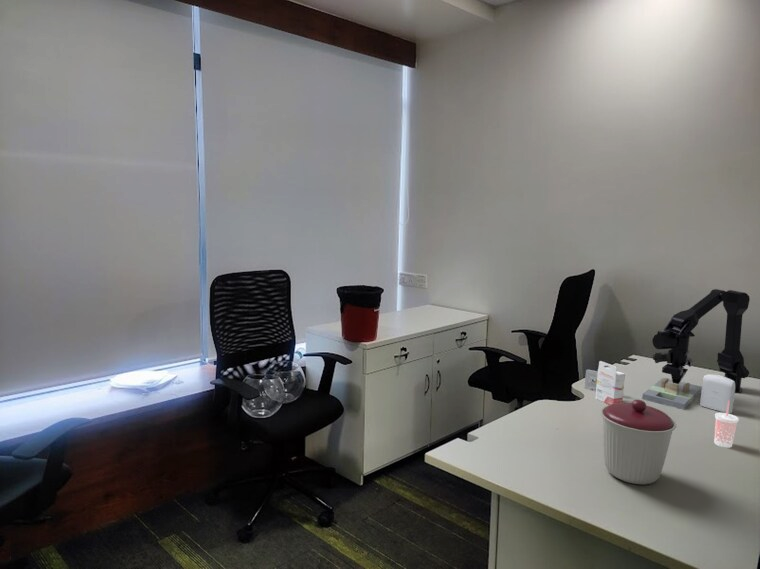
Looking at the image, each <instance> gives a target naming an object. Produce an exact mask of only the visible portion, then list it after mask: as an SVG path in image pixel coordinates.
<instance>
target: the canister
mask: <svg viewBox="0 0 760 569" xmlns="http://www.w3.org/2000/svg"><path fill="white" fill-rule="evenodd" d="M600 415H601V416H602V428H603V429H602V432H603V433H602V438H603V457H604V458H603V460H604V465H605V467H606V469H607V471H608V472H609V473H610V474H611V475H612V476H614V477H615V478H617V479H619V480H621V481H623V482H626V483H629V484H633V485H634V484H635V485H648V484H649V485H651V484H653V483H654V482H656V481H657V480H658V479H659V478H660V477H661V474H662V472H663V468H664V465H665V462H666V459H667V458H666V457H667V453H668V450H669V446H670V443H671V439H672V434H673V431H675V429H676V428H677V423H676V420H674V419H673V417H671V416H669V415H668V414H667V413H666V412H664V411H662V410H660V409H658V408H655V407H652V406H650V405H647V404H646V402H645V401H644V400H643V399H634V400H632V402H622V403H614V404H611V405H609V404H607V405H606V406H603V407H602V408H601V409H600Z"/></svg>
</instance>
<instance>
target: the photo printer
mask: <svg viewBox="0 0 760 569" xmlns="http://www.w3.org/2000/svg"><path fill="white" fill-rule="evenodd" d="M701 387H702V390H701V392H700V402H699V406H700V407H703V408H704V407H705V408H707V409H709V410H710V409H711V410H715V411H718V412H720V413H726V412H727V405H728V400H729V401H730V404H729V411H728V414H732V413H733V409H734V402H735V400H734V399H735V393H736V392H735V382H734V381H733V380H731V379H729V378H726V377H724V376H723V375H719V374H704V376H703V379H702V384H701Z"/></svg>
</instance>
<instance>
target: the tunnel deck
mask: <svg viewBox="0 0 760 569" xmlns="http://www.w3.org/2000/svg"><path fill="white" fill-rule="evenodd" d="M667 382H672V378H671V379H669V377H662V378H661V379H660V380H657V382H656V383H655V384H653V385H652V386H651V387H649V388H648V389H647V390H645V391H644V392H643V393H642V396H641V397H642V398H641V400H643V401H644V400H645V401H650V402H653V403H655V404H656V403H657V404H660V405H665V406H669V407H672V408H675V409H679V410H684V411H685V409H686V408H687V407H688V406H689V405H690V404H691V403H692V402H693V401H694V400H695V399H697V397H698V395H700V394H701V391H702V385H697V384H696V385H695V384H693V383H690V382H684V381H680V383H679V384H680V388H679V392H678V393H677V394H676V395H675V394H671V393H667V392H664V391H665V384H666V383H667ZM672 383H673V382H672Z"/></svg>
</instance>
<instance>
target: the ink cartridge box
mask: <svg viewBox="0 0 760 569" xmlns="http://www.w3.org/2000/svg"><path fill="white" fill-rule="evenodd" d="M597 372H598V374H597V385H596V391H595V397H594V398H595V399H596V400H597V401H601V402H602V403H605V404H606V405H611V404H614V403H623V402H624V401H623V400H624V391H625V390H624V388H625V379H626V373H624V372H621V371H618V367H617V366H615V365H613V364H610V363H607V362H605V361H602V360H599V362H598V369H597Z"/></svg>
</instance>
